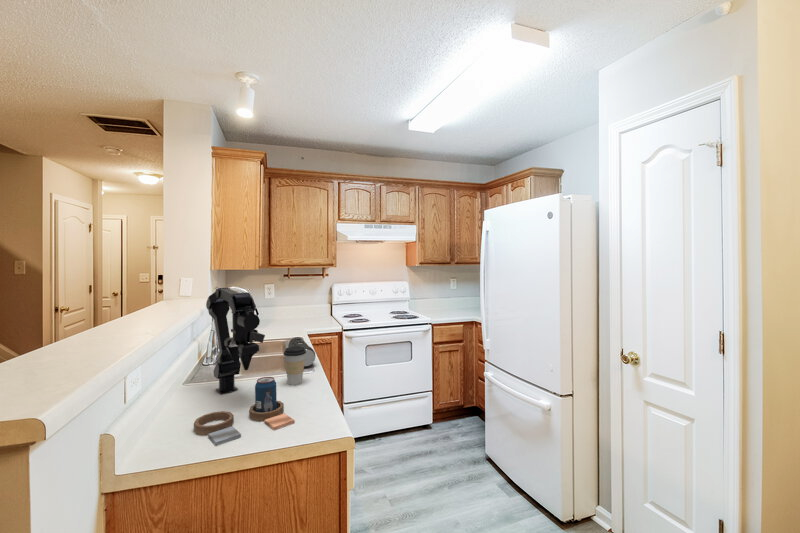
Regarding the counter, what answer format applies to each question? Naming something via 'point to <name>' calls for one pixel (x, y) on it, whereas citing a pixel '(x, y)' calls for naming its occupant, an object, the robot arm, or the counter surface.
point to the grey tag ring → (217, 427)
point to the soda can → (265, 395)
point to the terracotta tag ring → (272, 417)
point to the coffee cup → (294, 364)
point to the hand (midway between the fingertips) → (241, 367)
